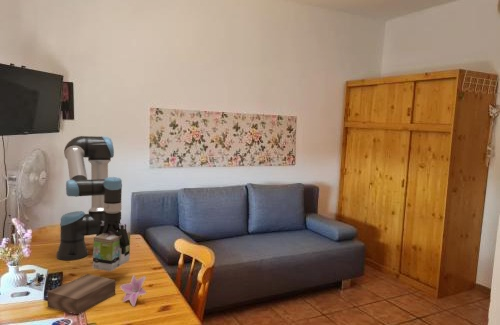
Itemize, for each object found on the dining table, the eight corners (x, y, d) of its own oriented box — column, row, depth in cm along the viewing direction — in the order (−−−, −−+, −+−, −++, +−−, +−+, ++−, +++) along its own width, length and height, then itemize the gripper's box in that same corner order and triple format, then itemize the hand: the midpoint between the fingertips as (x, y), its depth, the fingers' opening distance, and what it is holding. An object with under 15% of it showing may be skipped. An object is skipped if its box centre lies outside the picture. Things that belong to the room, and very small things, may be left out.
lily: (119, 297, 154) (112, 282, 149) (145, 282, 160) (140, 267, 155) (130, 317, 146) (123, 302, 141) (157, 300, 152) (151, 285, 146)
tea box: (112, 272, 163) (112, 239, 161) (92, 269, 165) (92, 236, 163) (130, 260, 177) (130, 230, 176) (111, 257, 179) (111, 228, 178)
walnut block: (47, 306, 142) (47, 291, 142) (87, 287, 161) (87, 273, 160) (77, 315, 137) (77, 299, 136) (115, 294, 155) (115, 280, 155)
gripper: (86, 209, 169) (86, 256, 171) (127, 216, 161) (126, 265, 163) (98, 206, 176) (98, 251, 178) (138, 213, 168) (137, 260, 170)
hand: (111, 258), depth 171 cm, fingers closed on tea box, 11 cm apart
